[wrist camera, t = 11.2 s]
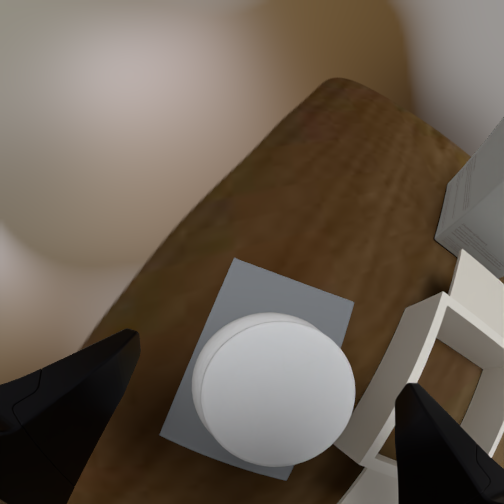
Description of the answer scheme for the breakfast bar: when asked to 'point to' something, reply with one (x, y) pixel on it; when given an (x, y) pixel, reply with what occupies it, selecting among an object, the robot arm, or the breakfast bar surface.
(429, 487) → the robot arm
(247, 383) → the supplement bottle
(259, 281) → the mat
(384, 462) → the carton
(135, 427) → the breakfast bar surface
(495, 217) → the supplement box
